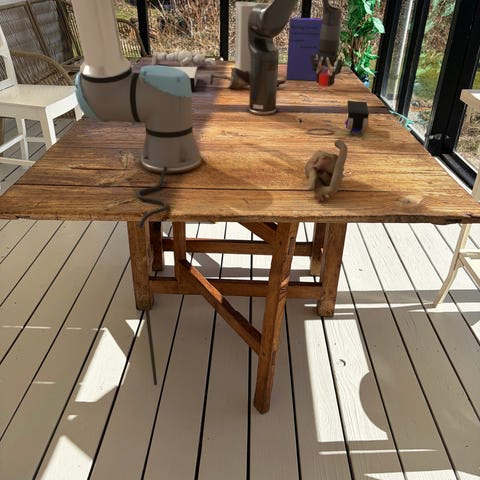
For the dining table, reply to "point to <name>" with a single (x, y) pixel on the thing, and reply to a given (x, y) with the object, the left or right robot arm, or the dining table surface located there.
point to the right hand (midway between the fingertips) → (324, 83)
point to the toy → (181, 58)
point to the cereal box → (303, 48)
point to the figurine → (239, 78)
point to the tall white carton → (243, 35)
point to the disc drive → (190, 75)
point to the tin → (324, 79)
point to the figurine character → (357, 116)
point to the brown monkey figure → (326, 171)
